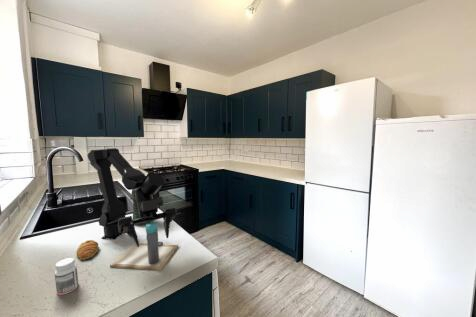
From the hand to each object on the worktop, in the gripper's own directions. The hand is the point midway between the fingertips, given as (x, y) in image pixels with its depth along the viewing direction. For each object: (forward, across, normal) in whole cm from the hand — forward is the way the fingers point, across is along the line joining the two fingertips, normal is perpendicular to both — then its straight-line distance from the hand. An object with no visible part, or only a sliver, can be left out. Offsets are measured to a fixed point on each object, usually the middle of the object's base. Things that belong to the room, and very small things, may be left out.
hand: (153, 242), depth 65 cm
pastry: (-10, -19, +23) cm, 31 cm away
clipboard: (+1, -1, +12) cm, 12 cm away
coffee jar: (-23, +4, +35) cm, 42 cm away
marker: (+4, 0, +6) cm, 8 cm away
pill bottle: (+3, -23, +9) cm, 25 cm away
